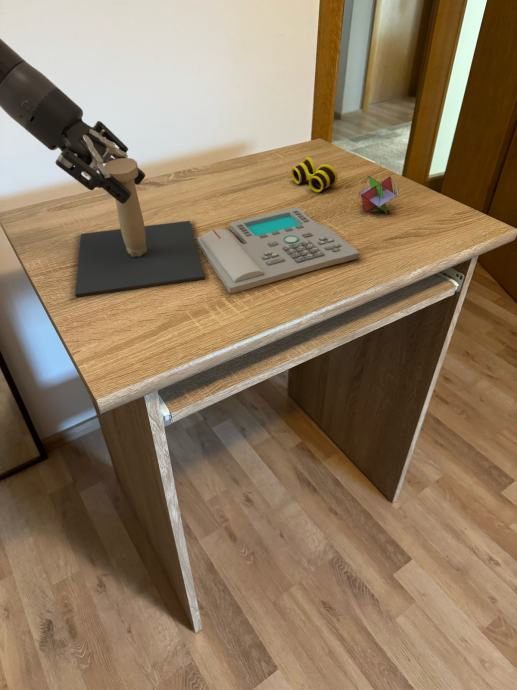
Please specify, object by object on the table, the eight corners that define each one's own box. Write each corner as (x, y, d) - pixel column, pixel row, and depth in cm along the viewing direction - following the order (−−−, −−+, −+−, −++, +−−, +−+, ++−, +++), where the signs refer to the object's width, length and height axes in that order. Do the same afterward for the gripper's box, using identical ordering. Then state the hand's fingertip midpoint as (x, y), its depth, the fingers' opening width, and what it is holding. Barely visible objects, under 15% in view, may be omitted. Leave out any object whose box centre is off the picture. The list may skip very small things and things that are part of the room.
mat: (75, 297, 75) (74, 294, 74) (81, 236, 89) (80, 233, 89) (204, 279, 78) (204, 276, 77) (190, 223, 93) (189, 220, 92)
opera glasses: (290, 184, 108) (287, 163, 104) (307, 174, 109) (305, 153, 106) (321, 198, 102) (319, 176, 98) (339, 187, 103) (337, 165, 100)
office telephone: (229, 281, 73) (187, 225, 87) (230, 295, 74) (189, 238, 88) (360, 245, 80) (302, 198, 93) (359, 259, 81) (301, 211, 95)
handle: (153, 243, 86) (138, 157, 76) (150, 262, 81) (134, 173, 71) (125, 244, 85) (107, 158, 76) (120, 263, 81) (100, 174, 71)
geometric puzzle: (363, 212, 90) (390, 173, 87) (343, 198, 95) (369, 161, 92) (385, 227, 94) (412, 191, 92) (365, 213, 99) (390, 178, 96)
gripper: (50, 112, 77) (136, 187, 83) (3, 142, 66) (106, 226, 72) (73, 74, 73) (161, 156, 79) (27, 100, 62) (133, 193, 68)
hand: (134, 189), depth 76 cm, fingers closed on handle, 6 cm apart
